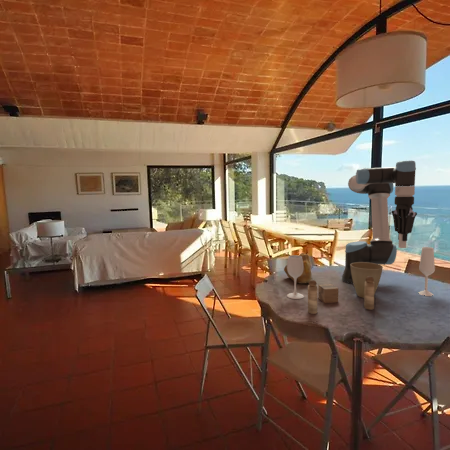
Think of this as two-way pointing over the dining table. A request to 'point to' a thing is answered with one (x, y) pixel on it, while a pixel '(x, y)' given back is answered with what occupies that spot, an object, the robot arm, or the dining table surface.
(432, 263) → the champagne flute
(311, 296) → the oak mill
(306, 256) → the rough brown rock
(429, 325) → the dining table surface
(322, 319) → the dining table surface
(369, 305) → the oak mill
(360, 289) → the plant pot
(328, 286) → the tan wooden cube
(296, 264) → the wineglass
